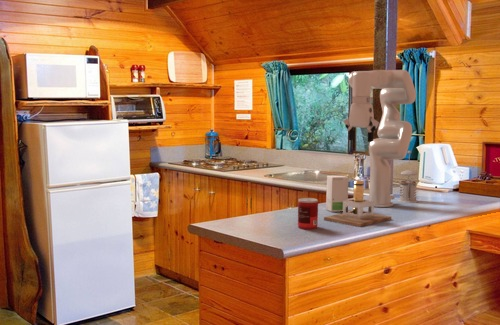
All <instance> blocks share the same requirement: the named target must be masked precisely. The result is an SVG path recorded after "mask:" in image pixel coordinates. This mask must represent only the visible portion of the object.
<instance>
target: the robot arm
mask: <svg viewBox="0 0 500 325" xmlns="http://www.w3.org/2000/svg"><path fill="white" fill-rule="evenodd" d="M347 80H348V82H347V83H348V85H349V87H350V88H351V89H352V99H351V102H352V104H350V109H349V117H347V118H346V119H344V121H343V124H344V125H345V128H346V129H347V130H346V131H348V141H354V140H355V130H354V129H355V128H366V129H367V131H368V132H367V142H368V154H369V163H370V167H369V169H370V170H369V196H368V197H369V198H368V200H371V201H374V207H375V208H389V207H390V208H391V207H393V206H394V203H393V202H392V200H394V199H395V195H391V180H392V179H391V178H392V177H391V176H392V167H391V165H390V163H389V162H388V160H395V161H396V160H399V161H400V160H403V159H405V158H406V156H407V154H408V151H409V146H410V142H411V140H412V135H413V126H412V124H411V123H410V122H409V121H407V120H400V119H401V114H400V113H401V112H400V111H399V110H398V108H397V107H396V106H394V105H411V104H413V103H414V102H415V101H416V99H417V92H416V88H415V85H414V83H413V79H412V76H411V74H410V73H409V72H408V70H406V69H374V70H358V71H357V70H356V71H355V70H354V71H351V72H350V73H349V75H348V79H347ZM374 89H375V90H376V89H377V90H378V89H380V91H379V102H380V105H381V111H382V115H381V118H380V121H378V120H377V119H375V118H374V117H375V116H374V115H375V114H374V107H373V104H371V102H372V101H373V97H372V98H371V90H374ZM376 130H377V137H376V138H374V134H375V132H376Z"/></svg>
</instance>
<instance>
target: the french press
mask: <svg viewBox="0 0 500 325" xmlns="http://www.w3.org/2000/svg"><path fill="white" fill-rule="evenodd" d="M412 153H413V152H412V150H407V154H408V164H410V161H411V160H410V158H411V154H412ZM400 175H402V176H408V177H407V180H401V181H400V182H401V183H400V184H399V187H400V188H399V199H397V202H400V203H404V204H405V203H409V204H411V203H412V204H416V203H419V201H418V200H417V187H418V186H417V184H416V183H417V181H414V180H413V179H414V178H413V177H411V179H410V176H417V175H418V173H417V172H416V171H414V170H410V169H407V170H403V171H401V172H400Z"/></svg>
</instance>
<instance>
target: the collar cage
mask: <svg viewBox="0 0 500 325" xmlns="http://www.w3.org/2000/svg"><path fill="white" fill-rule="evenodd" d="M349 207H350V208H353V207H356V208H358V212H357V214H356V213H353V209H350V210H349ZM364 208H367V209H368V210H364ZM342 213H343V217H347V218H352V219H358V220H363V219H367V218H372V217H373V214H374V213H375V211H374V201H371V200H369V199H365V198H363V202H354V201H353V198H351V199H349V198H348V200H343V212H342Z"/></svg>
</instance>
